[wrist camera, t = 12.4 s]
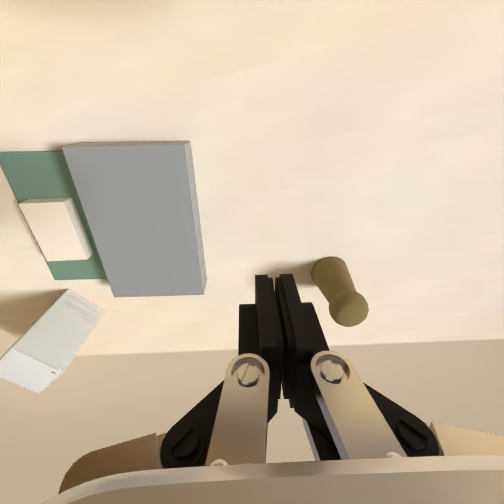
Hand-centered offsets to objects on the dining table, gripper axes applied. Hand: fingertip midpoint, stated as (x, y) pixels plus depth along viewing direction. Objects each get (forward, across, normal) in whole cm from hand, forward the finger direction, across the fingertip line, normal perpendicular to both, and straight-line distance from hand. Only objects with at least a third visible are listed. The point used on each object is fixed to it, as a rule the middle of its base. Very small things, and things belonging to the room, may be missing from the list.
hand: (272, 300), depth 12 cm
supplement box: (+27, +32, +24) cm, 48 cm away
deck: (+27, +15, +7) cm, 32 cm away
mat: (+27, +28, +7) cm, 40 cm away
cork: (+27, -13, +17) cm, 35 cm away
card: (+25, +28, +8) cm, 38 cm away
